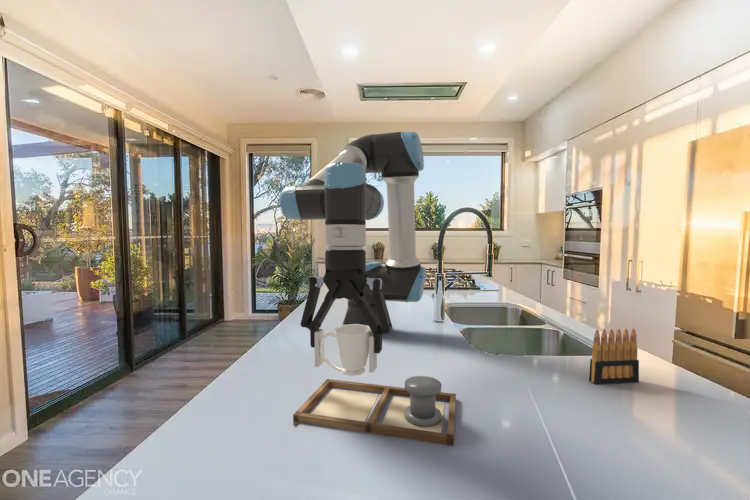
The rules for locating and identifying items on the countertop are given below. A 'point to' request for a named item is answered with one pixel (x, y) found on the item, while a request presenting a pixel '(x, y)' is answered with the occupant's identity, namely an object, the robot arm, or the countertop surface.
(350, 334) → the cup
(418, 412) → the doorknob
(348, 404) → the slot tray
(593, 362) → the ammunition clip
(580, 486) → the countertop surface
